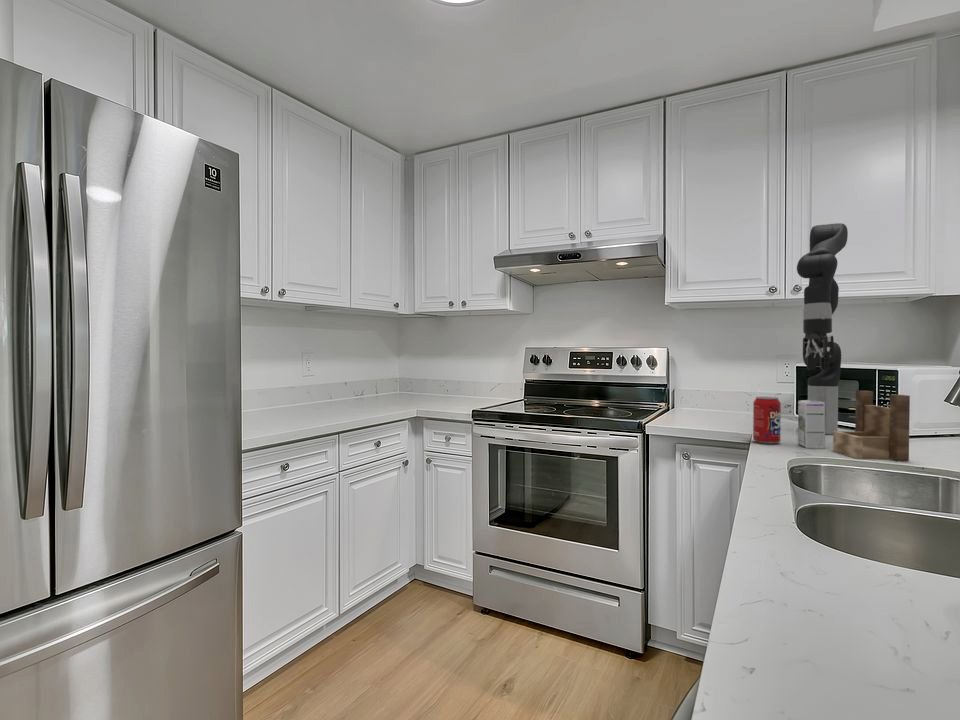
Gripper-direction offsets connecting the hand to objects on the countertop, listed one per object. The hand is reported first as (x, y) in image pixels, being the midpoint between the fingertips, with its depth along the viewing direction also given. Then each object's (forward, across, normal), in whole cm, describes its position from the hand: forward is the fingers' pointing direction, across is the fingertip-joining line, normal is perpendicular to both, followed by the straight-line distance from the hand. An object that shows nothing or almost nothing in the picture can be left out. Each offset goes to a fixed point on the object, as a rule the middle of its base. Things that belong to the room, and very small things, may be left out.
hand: (817, 369), depth 161 cm
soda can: (+24, -6, -13) cm, 28 cm away
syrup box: (+24, 0, -2) cm, 25 cm away
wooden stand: (+25, +12, +7) cm, 28 cm away
